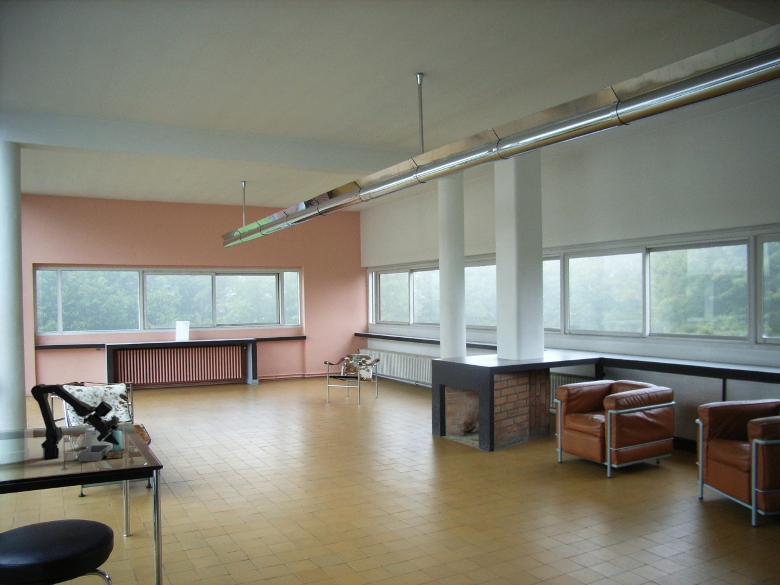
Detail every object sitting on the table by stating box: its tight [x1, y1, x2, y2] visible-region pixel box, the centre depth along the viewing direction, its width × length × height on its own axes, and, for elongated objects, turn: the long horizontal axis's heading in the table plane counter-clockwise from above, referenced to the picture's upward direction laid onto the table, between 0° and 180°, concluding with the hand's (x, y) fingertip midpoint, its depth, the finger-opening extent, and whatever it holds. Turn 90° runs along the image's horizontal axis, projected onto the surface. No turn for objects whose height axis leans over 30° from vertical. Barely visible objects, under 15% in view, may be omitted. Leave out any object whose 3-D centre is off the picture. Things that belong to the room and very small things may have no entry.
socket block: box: [106, 447, 129, 459], centre depth 330 cm, size 8×8×3 cm
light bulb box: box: [84, 427, 110, 448], centre depth 350 cm, size 11×7×11 cm, turn 146°
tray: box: [78, 444, 112, 462], centre depth 329 cm, size 11×18×4 cm, turn 7°
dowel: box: [112, 430, 123, 452], centre depth 330 cm, size 4×4×13 cm
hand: (119, 443), depth 330 cm, fingers closed on dowel, 4 cm apart
